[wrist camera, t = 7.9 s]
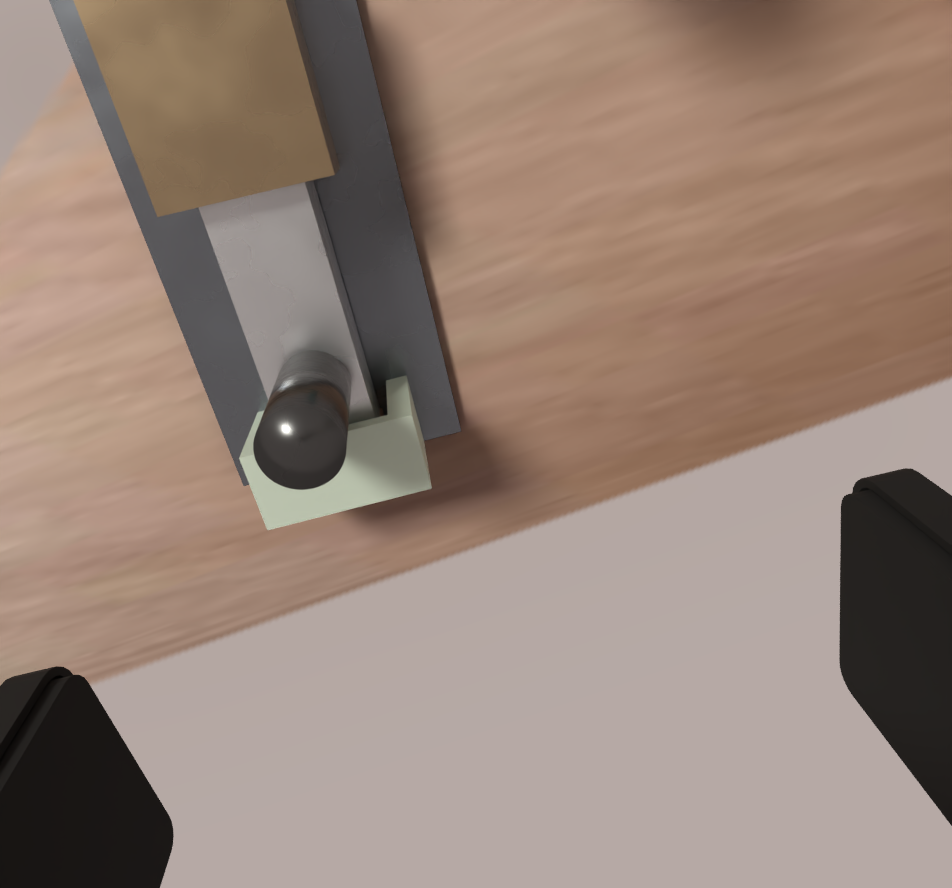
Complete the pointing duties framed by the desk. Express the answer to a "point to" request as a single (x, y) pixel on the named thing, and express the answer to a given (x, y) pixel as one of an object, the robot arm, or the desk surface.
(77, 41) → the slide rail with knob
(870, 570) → the robot arm
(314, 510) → the socket
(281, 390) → the grey slider block
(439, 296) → the desk surface
